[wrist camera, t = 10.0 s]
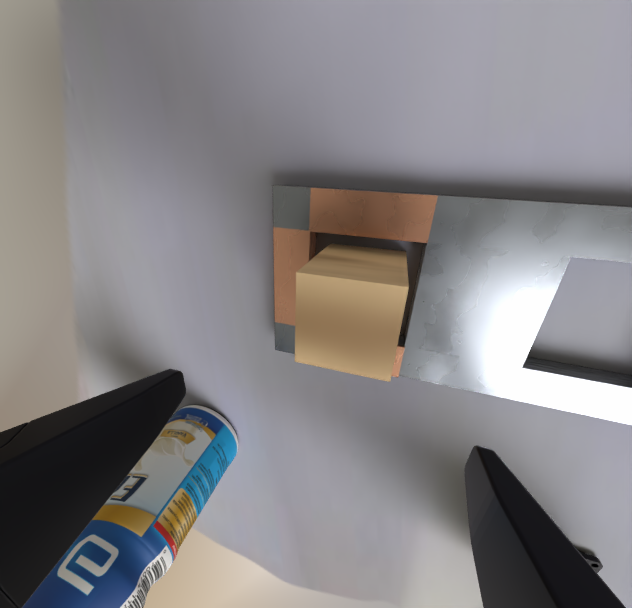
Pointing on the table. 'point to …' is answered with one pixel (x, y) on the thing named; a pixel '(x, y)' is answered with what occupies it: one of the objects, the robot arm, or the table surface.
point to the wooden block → (351, 309)
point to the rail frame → (468, 285)
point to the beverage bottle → (143, 517)
